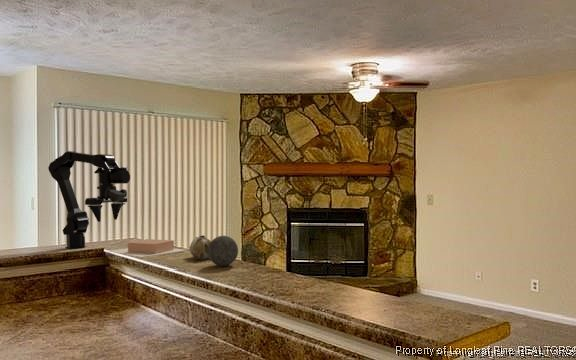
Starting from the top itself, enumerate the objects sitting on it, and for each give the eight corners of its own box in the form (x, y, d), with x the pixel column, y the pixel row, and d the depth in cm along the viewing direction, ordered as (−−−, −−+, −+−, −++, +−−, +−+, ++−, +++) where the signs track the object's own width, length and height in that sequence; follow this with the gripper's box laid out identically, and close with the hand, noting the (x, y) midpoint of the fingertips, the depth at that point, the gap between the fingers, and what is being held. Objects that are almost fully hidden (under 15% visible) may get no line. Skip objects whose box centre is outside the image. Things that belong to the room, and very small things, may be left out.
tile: (127, 242, 205) (155, 244, 198) (146, 239, 214) (173, 240, 208) (128, 252, 205) (155, 253, 198) (147, 248, 215) (174, 249, 208)
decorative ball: (214, 269, 166) (213, 238, 166) (204, 265, 175) (203, 235, 175) (243, 266, 170) (242, 236, 170) (232, 262, 179) (231, 233, 179)
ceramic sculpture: (209, 231, 198) (224, 237, 185) (209, 253, 199) (224, 261, 186) (182, 233, 193) (196, 240, 180) (182, 256, 193) (196, 265, 180)
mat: (141, 258, 192) (141, 257, 192) (107, 252, 210) (107, 250, 210) (186, 251, 206) (186, 250, 206) (150, 246, 224) (150, 245, 224)
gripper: (103, 184, 207) (104, 223, 207) (136, 183, 224) (137, 219, 224) (83, 184, 212) (84, 222, 212) (117, 183, 229) (118, 218, 229)
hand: (107, 220), depth 219 cm, fingers open, 9 cm apart
